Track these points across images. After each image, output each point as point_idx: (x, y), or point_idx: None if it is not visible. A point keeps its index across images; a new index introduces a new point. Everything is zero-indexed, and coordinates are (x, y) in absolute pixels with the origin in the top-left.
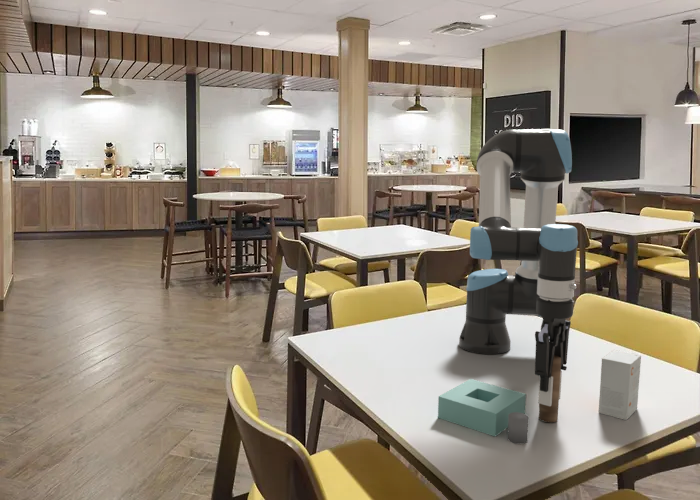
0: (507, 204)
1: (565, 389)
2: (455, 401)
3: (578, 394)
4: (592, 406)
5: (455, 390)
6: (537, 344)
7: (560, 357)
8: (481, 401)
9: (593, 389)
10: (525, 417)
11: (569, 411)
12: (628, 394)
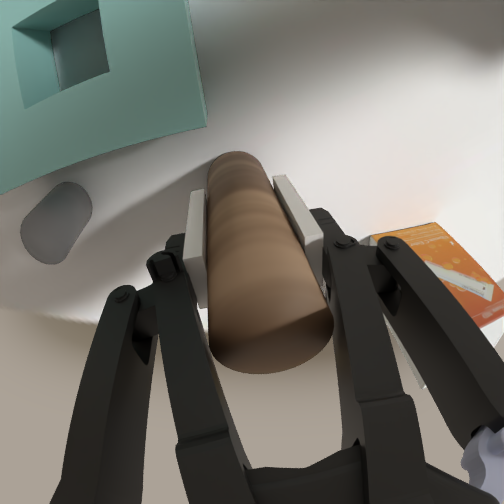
0: None
1: (454, 112)
2: None
3: (444, 150)
4: (397, 207)
5: None
6: (70, 468)
7: (334, 339)
8: (14, 94)
9: (478, 165)
10: (56, 254)
11: (334, 185)
12: (389, 327)
